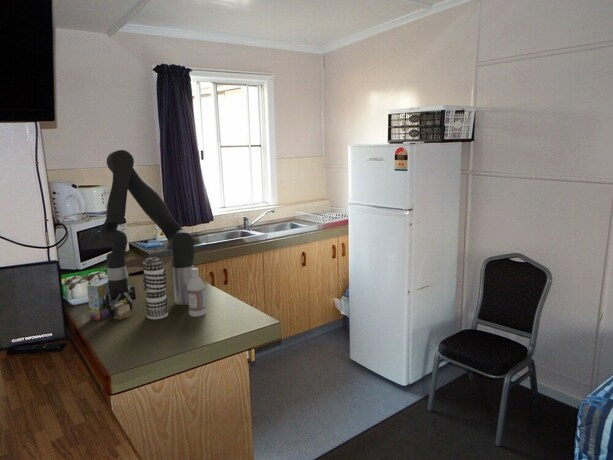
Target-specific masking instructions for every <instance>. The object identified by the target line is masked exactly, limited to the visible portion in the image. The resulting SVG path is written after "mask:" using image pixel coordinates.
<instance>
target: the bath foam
mask: <svg viewBox="0 0 613 460" xmlns="http://www.w3.org/2000/svg"><path fill="white" fill-rule="evenodd" d="M191 276H192V277H191V279H190V281H189V283H188V286H187V292H188V305H187V306H188V314H189V316H190V317H202V316H204V315H205V314H206V312H207V309H206V307H207V306H206V294H205V293H206V292H205V285H204V284H205V283H204V282H203V280H202V279H201V278H200V276H199V267H194V268H192V269H191Z"/></svg>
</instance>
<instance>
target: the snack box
mask: <svg viewBox="0 0 613 460" xmlns="http://www.w3.org/2000/svg"><path fill="white" fill-rule="evenodd" d="M129 273H130V272H127V278H128V287H129V286H130V279H129V278H130V274H129ZM86 287H87V296H88V297H87V298H88V310H89V311H88V312H89V319H90V320H92V321H99V322H101V321H102V320H104V319H106V318H107V317H110V316H109V313H108V309H104V308H103V294H105V295H107V294H109V293H110V290H109V286H108V276H107V277H104V278H102V279H99V280H98V281H95V282H93V283H90V284H88V285H87V286H86ZM127 294H128V295H129V291H128V293H127ZM129 296H130V295H129ZM110 298H111V297H110ZM109 300H110V299H109ZM113 302H114V300H113ZM119 303H125V304H127V301H126V300H125V299H124V300H121V301H119V302H117V304H119ZM117 304H116V305H117ZM90 320H89V321H90Z"/></svg>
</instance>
